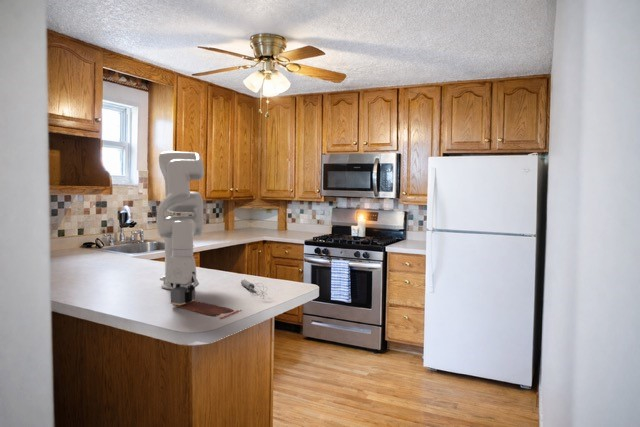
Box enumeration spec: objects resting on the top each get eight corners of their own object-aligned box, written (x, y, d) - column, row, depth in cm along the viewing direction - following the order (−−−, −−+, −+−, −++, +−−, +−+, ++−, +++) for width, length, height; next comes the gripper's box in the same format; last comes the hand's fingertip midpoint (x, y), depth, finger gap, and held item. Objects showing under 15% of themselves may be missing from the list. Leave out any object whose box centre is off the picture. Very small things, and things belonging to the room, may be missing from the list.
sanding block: (170, 303, 164) (170, 289, 164) (185, 299, 171) (185, 285, 171) (180, 305, 162) (179, 290, 162) (194, 300, 169) (194, 286, 169)
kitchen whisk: (248, 283, 207) (248, 270, 207) (270, 301, 176) (270, 285, 176) (235, 284, 205) (235, 271, 204) (255, 302, 174) (255, 286, 173)
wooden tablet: (235, 312, 161) (235, 308, 161) (214, 319, 153) (214, 314, 153) (190, 300, 177) (190, 296, 177) (168, 305, 169) (168, 301, 169)
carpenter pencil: (219, 319, 151) (219, 317, 151) (239, 310, 161) (239, 308, 161) (221, 319, 151) (221, 317, 151) (241, 311, 161) (241, 309, 161)
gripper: (158, 252, 166) (158, 301, 167) (193, 256, 159) (193, 306, 160) (172, 250, 173) (173, 296, 174) (207, 253, 166) (207, 301, 167)
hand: (183, 300), depth 167 cm, fingers closed on sanding block, 4 cm apart
